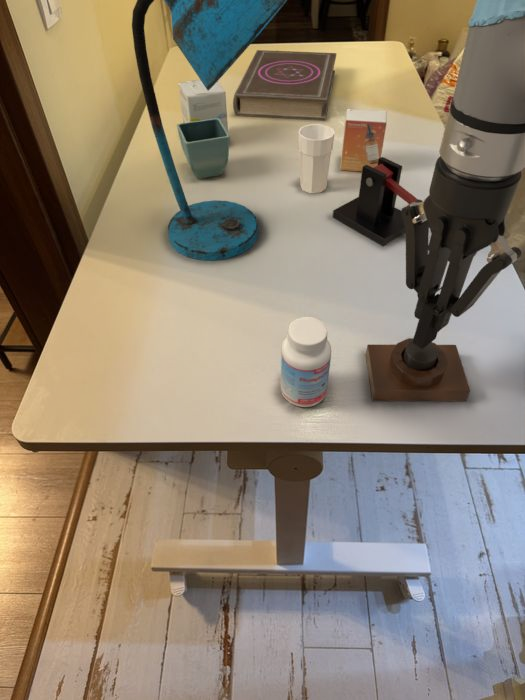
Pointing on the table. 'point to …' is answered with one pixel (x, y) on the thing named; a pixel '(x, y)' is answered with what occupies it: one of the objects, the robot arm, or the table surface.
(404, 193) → the red lever
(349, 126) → the small box
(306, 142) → the cup
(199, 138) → the flower pot
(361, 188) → the black lever stand
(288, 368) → the pill bottle
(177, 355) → the table surface
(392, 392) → the block
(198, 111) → the ink box
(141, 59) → the desk lamp
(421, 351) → the bell button
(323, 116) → the book
